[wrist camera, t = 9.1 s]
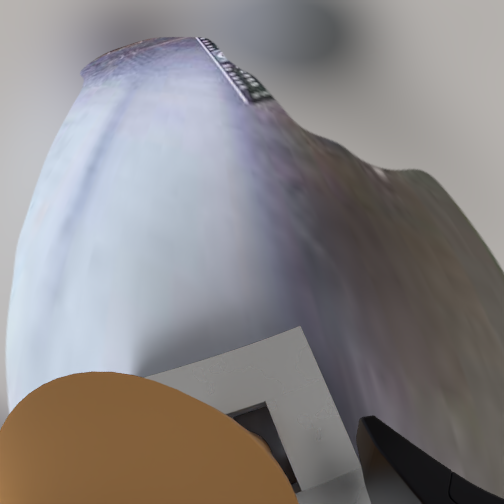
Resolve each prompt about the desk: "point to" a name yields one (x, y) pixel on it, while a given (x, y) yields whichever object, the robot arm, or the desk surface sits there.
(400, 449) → the robot arm
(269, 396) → the grey square socket block
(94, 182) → the desk surface
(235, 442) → the wedge pin
